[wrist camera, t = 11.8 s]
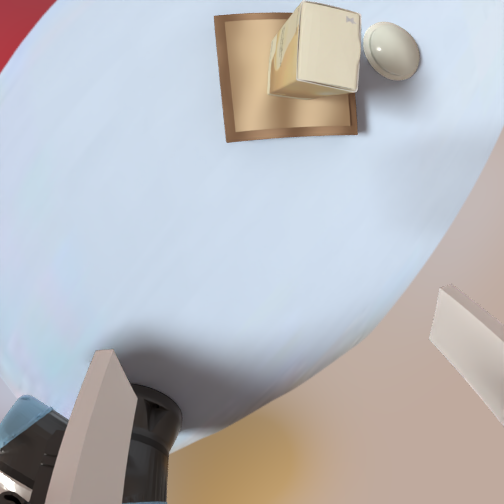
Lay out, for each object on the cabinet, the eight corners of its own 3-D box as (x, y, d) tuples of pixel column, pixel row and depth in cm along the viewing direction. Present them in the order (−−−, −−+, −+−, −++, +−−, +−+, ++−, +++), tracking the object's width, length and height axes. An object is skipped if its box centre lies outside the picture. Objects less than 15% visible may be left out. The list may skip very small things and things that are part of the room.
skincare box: (270, 40, 25) (300, -6, 14) (312, 46, 26) (363, 9, 15) (265, 98, 28) (294, 81, 16) (308, 103, 28) (359, 93, 17)
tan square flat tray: (226, 141, 32) (226, 143, 29) (214, 23, 26) (213, 14, 24) (348, 133, 33) (359, 135, 30) (337, 22, 27) (346, 15, 24)
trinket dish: (366, 78, 30) (373, 76, 29) (357, 19, 27) (363, 15, 26) (418, 83, 31) (426, 82, 29) (410, 28, 28) (417, 25, 26)
